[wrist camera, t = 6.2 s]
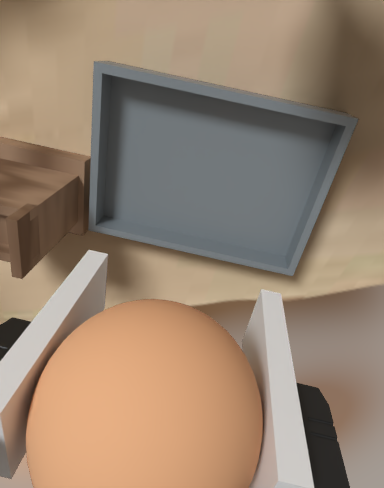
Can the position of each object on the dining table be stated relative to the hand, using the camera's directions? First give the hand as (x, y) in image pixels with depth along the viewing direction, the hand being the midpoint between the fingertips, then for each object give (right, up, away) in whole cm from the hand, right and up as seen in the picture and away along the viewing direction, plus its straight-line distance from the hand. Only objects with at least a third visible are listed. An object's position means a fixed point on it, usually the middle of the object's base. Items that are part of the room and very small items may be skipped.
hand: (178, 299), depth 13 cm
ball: (0, -1, -2) cm, 2 cm away
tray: (+2, +8, +15) cm, 17 cm away
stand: (-13, +8, +17) cm, 23 cm away
